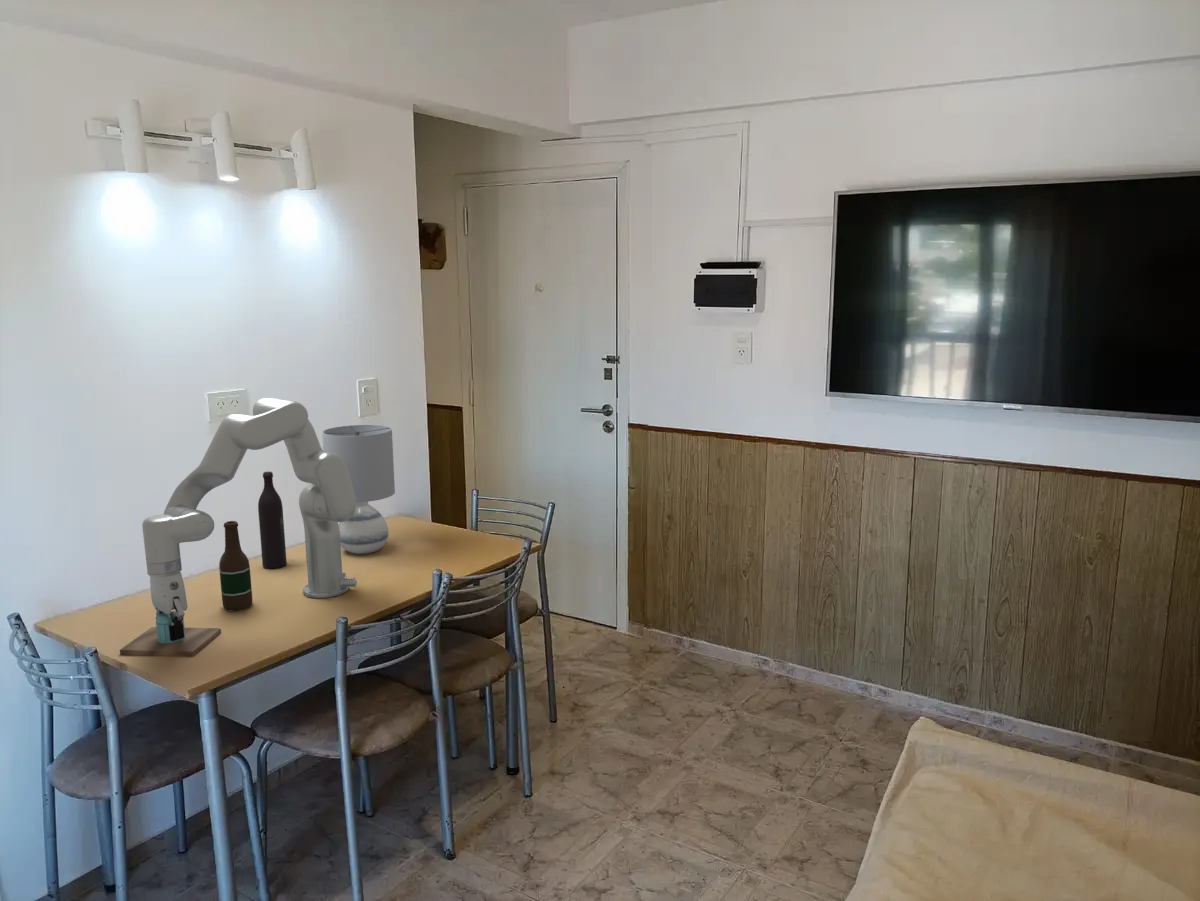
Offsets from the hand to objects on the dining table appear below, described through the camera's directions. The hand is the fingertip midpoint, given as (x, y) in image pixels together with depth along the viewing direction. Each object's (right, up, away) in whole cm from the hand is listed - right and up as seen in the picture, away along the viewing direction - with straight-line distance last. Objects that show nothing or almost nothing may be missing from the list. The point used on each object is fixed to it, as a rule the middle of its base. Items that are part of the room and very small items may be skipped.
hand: (171, 634), depth 216 cm
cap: (0, -1, 0) cm, 1 cm away
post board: (0, -2, 0) cm, 2 cm away
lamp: (+28, +12, +74) cm, 80 cm away
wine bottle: (+4, +9, +58) cm, 59 cm away
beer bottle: (+6, +2, +25) cm, 26 cm away
